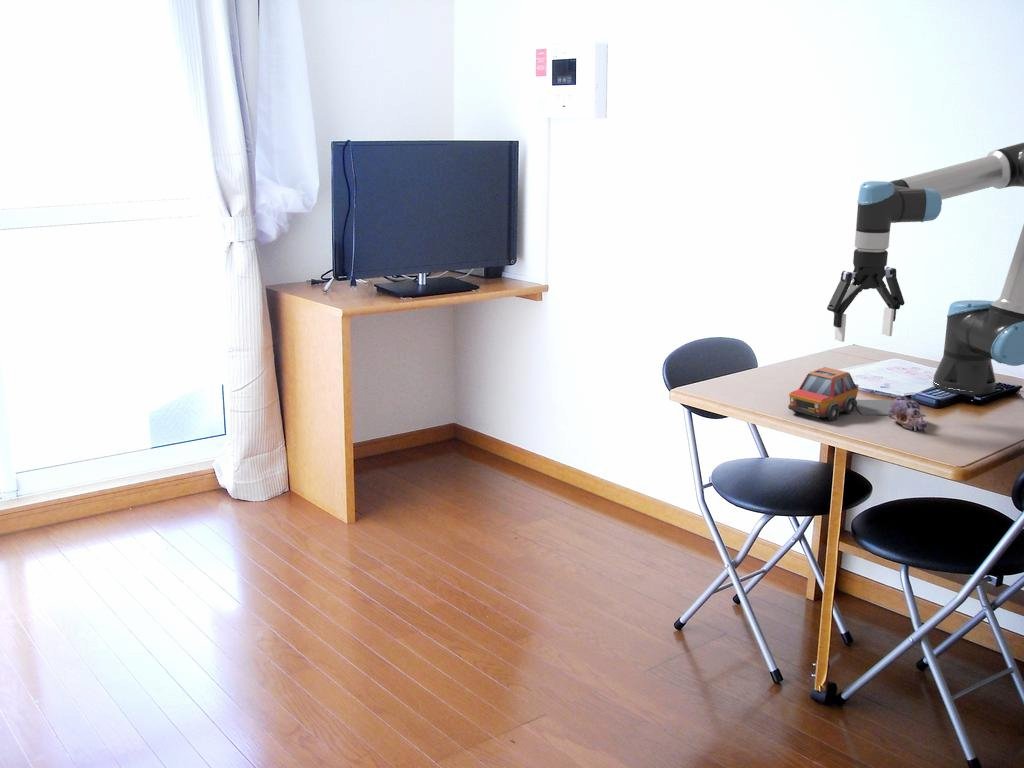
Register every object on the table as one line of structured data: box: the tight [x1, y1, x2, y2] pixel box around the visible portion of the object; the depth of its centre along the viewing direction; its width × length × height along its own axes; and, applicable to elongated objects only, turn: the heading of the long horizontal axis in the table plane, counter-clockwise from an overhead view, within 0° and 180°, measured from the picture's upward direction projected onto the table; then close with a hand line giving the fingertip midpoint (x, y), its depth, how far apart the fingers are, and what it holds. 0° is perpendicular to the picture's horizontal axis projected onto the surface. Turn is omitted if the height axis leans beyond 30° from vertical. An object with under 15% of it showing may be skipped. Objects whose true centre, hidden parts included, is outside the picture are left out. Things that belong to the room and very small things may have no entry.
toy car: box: [787, 366, 860, 422], centre depth 256 cm, size 12×17×10 cm
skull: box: [888, 395, 928, 433], centre depth 246 cm, size 12×8×6 cm, turn 2°
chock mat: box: [855, 399, 926, 417], centre depth 260 cm, size 15×12×1 cm
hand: (863, 337), depth 250 cm, fingers open, 13 cm apart
